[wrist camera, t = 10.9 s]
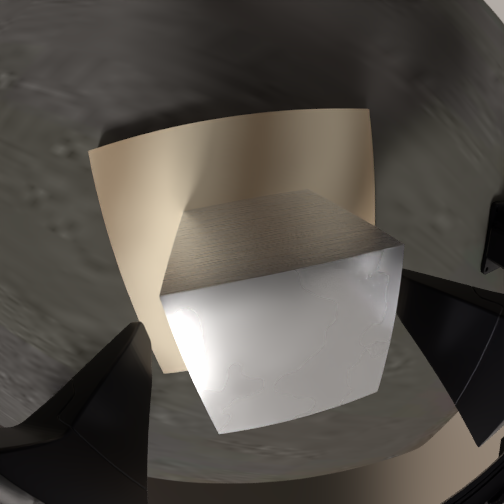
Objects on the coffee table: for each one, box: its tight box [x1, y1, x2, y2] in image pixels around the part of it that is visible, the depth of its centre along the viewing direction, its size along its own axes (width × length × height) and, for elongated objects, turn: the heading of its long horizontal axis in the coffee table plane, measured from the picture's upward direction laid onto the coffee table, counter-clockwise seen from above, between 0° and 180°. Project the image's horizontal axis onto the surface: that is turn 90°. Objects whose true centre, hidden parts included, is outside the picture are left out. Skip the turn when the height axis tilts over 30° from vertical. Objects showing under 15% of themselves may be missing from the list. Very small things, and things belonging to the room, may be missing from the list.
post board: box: [88, 109, 375, 373], centre depth 12 cm, size 13×13×5 cm
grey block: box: [159, 189, 404, 434], centre depth 10 cm, size 6×6×7 cm
